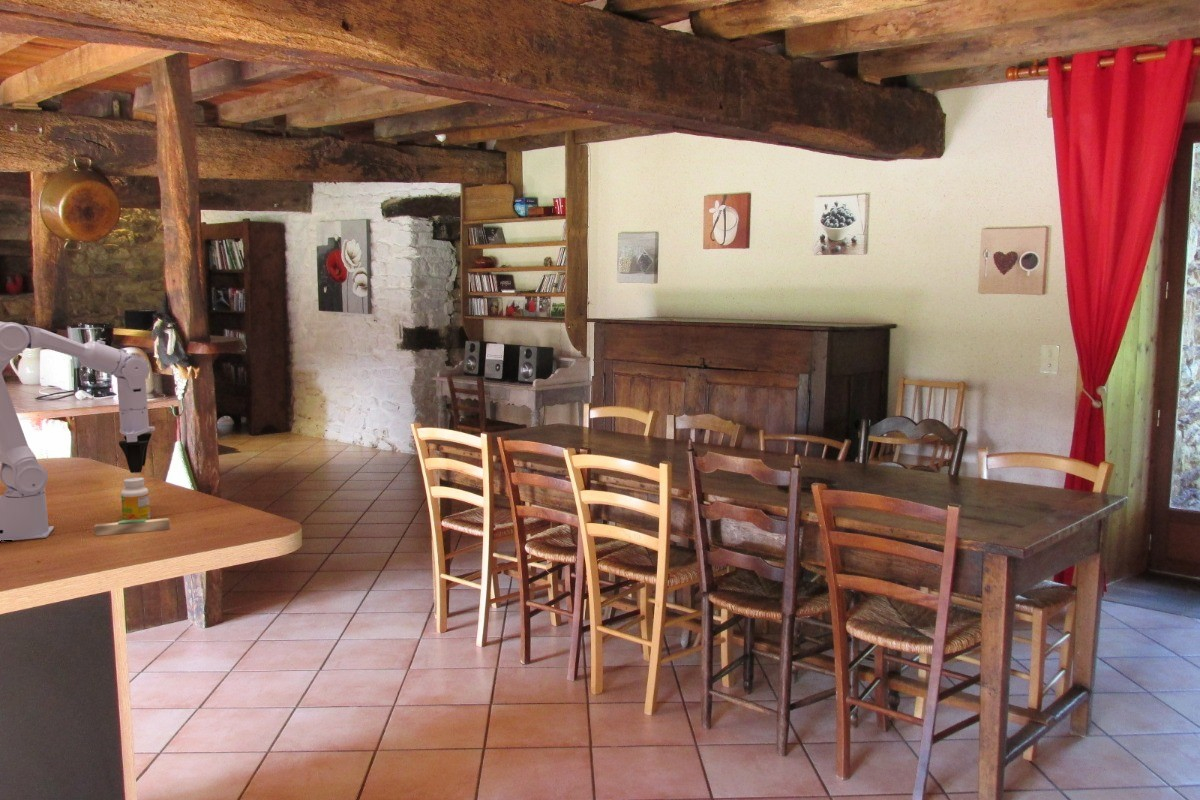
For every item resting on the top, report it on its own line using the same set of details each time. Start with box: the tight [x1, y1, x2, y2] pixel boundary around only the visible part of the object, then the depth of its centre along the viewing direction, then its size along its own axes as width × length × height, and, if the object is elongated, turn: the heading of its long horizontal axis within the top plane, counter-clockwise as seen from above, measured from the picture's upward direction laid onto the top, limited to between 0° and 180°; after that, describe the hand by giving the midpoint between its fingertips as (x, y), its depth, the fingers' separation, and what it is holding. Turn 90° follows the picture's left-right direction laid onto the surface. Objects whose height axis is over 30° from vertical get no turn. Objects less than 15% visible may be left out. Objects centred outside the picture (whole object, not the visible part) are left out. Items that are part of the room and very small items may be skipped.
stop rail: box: [93, 517, 171, 537], centre depth 204 cm, size 14×2×2 cm, turn 109°
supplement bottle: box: [120, 476, 151, 521], centre depth 210 cm, size 5×5×10 cm
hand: (137, 469), depth 216 cm, fingers open, 7 cm apart
